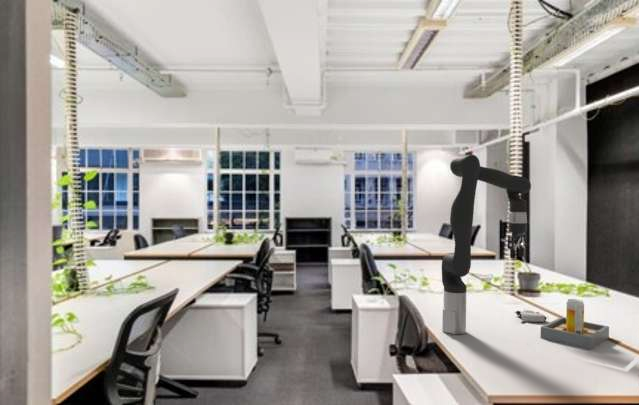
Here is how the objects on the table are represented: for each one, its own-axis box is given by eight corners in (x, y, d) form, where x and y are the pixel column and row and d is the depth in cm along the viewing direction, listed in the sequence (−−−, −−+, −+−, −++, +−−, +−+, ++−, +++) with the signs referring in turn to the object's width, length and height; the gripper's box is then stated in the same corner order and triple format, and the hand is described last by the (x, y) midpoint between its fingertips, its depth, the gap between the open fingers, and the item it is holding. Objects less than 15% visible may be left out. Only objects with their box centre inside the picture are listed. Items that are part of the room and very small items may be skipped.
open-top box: (590, 352, 164) (591, 337, 164) (540, 340, 177) (540, 326, 177) (608, 340, 179) (609, 326, 179) (561, 329, 192) (561, 317, 192)
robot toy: (513, 317, 214) (519, 324, 200) (513, 308, 215) (519, 313, 200) (540, 319, 211) (549, 326, 197) (540, 310, 212) (549, 315, 197)
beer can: (577, 335, 181) (578, 298, 181) (586, 340, 175) (587, 302, 175) (562, 335, 181) (563, 298, 181) (572, 340, 175) (572, 302, 175)
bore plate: (588, 346, 168) (588, 338, 168) (549, 337, 179) (549, 329, 179) (600, 338, 178) (600, 331, 178) (562, 330, 188) (562, 323, 188)
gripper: (516, 221, 208) (515, 255, 208) (502, 222, 198) (501, 258, 198) (532, 221, 202) (532, 257, 202) (519, 222, 192) (518, 260, 193)
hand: (517, 257), depth 200 cm, fingers open, 8 cm apart
